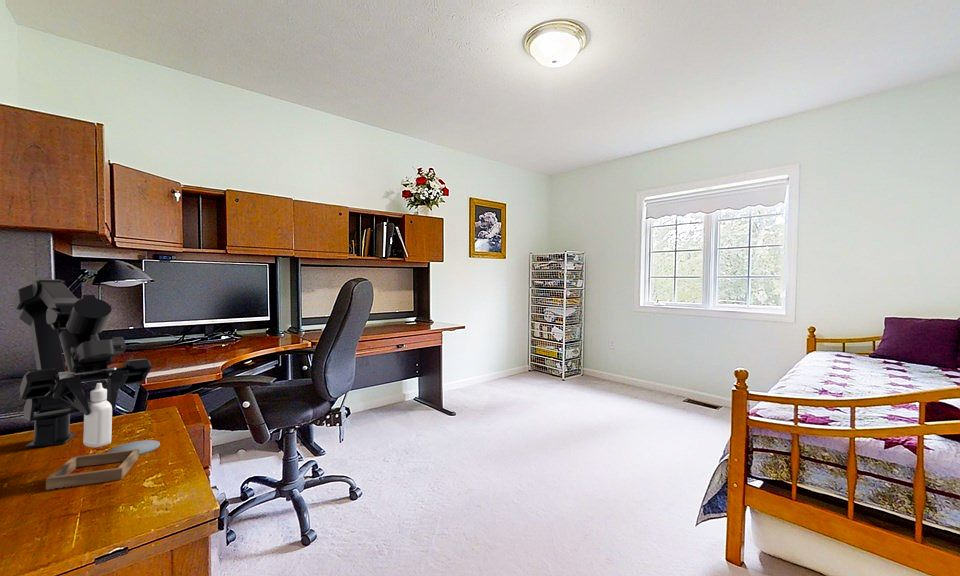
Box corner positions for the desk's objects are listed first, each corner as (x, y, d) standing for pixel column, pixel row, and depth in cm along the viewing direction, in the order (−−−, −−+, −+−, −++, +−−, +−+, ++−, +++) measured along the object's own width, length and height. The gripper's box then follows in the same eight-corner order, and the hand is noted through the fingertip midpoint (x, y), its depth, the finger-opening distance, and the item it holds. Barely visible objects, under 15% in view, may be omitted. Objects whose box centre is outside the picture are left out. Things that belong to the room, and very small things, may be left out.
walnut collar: (73, 466, 82) (73, 456, 82) (138, 458, 87) (139, 448, 87) (45, 490, 73) (46, 479, 73) (121, 479, 77) (121, 468, 77)
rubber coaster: (116, 445, 93) (116, 443, 93) (164, 439, 97) (164, 438, 97) (100, 460, 85) (100, 458, 85) (153, 453, 89) (153, 451, 89)
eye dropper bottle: (79, 450, 76) (81, 387, 76) (84, 441, 81) (86, 381, 81) (110, 445, 79) (112, 384, 79) (113, 436, 83) (115, 379, 83)
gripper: (25, 327, 74) (42, 398, 68) (149, 322, 90) (170, 378, 84) (13, 365, 78) (27, 434, 72) (133, 353, 94) (153, 409, 88)
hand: (100, 411), depth 79 cm, fingers closed on eye dropper bottle, 3 cm apart
